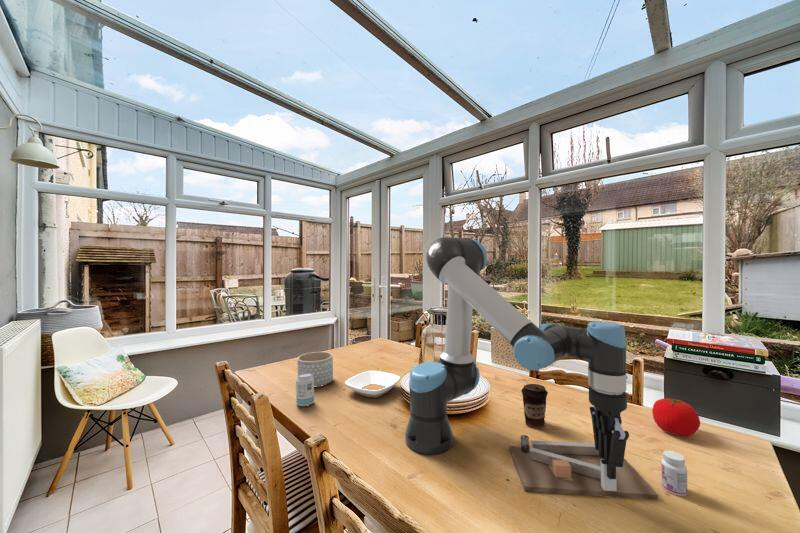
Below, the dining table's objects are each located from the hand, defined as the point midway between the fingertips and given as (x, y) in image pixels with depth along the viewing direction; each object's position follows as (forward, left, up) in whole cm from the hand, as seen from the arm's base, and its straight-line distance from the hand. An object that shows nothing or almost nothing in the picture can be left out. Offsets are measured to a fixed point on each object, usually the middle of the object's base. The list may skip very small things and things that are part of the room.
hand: (608, 488), depth 74 cm
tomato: (+36, +33, -3) cm, 49 cm away
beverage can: (-94, +43, -3) cm, 103 cm away
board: (-4, +9, -2) cm, 10 cm away
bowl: (-69, +58, -3) cm, 90 cm away
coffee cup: (-7, +34, -3) cm, 34 cm away
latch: (-8, +6, -1) cm, 10 cm away
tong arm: (-6, +8, -1) cm, 10 cm away
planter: (-99, +65, -3) cm, 119 cm away
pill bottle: (+17, +4, -3) cm, 18 cm away
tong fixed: (-5, +16, -1) cm, 17 cm away
